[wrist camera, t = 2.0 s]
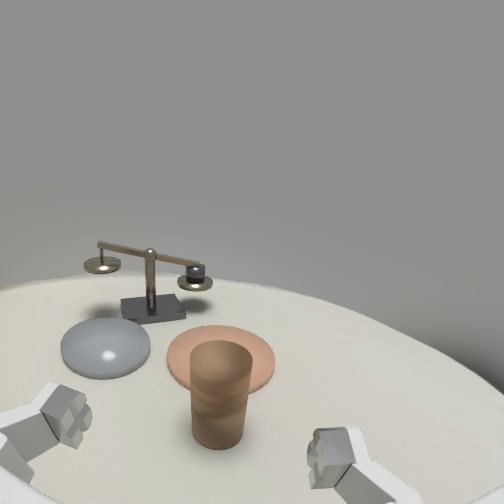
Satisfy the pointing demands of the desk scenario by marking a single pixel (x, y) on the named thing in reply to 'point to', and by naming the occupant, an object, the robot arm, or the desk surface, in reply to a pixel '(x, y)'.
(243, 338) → the dish
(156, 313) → the balance
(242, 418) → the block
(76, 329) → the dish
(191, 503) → the desk surface
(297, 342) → the desk surface
